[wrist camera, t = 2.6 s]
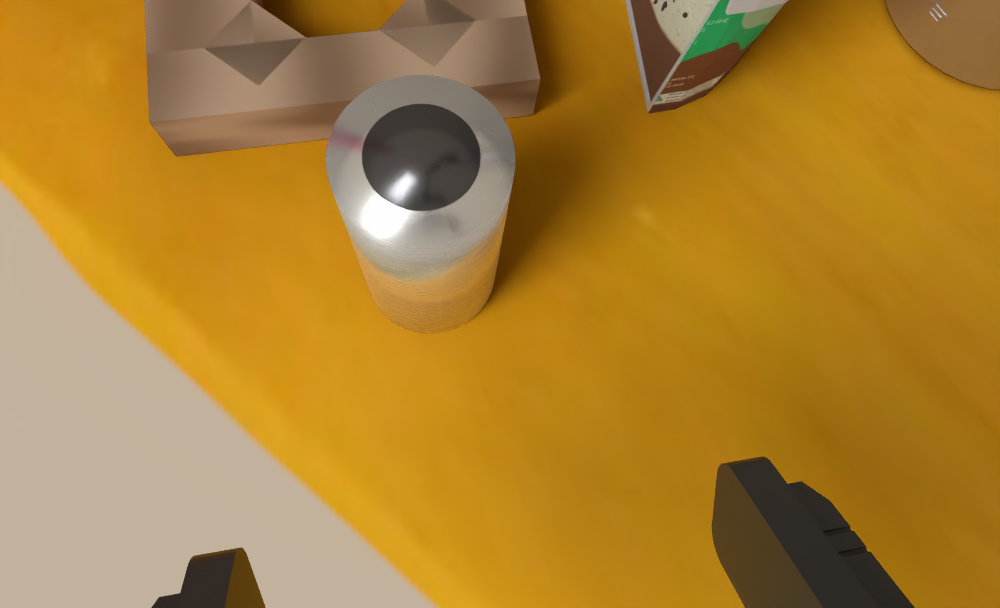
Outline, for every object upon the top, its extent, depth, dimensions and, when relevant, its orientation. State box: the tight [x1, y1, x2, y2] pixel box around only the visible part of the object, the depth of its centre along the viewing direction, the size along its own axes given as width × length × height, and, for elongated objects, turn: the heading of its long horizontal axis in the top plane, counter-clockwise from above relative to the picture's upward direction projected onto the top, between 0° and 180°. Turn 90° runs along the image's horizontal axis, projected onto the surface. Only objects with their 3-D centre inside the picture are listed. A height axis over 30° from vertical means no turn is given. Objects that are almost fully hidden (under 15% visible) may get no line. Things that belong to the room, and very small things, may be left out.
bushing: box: [326, 75, 516, 333], centre depth 22 cm, size 5×5×9 cm
